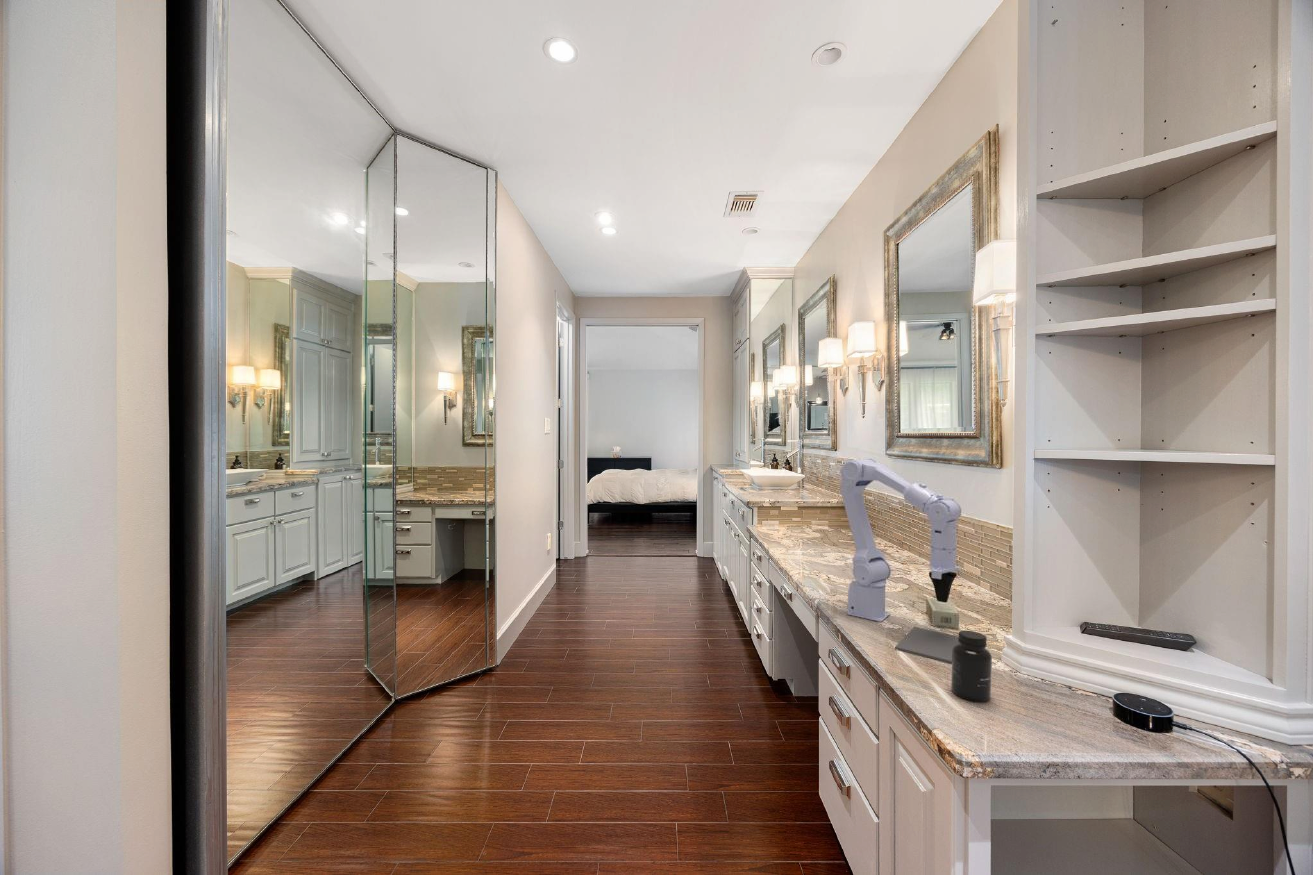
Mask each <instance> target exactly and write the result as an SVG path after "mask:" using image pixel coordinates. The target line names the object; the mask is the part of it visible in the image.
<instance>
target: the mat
mask: <svg viewBox="0 0 1313 875" xmlns="http://www.w3.org/2000/svg"><path fill="white" fill-rule="evenodd" d="M958 638H959V635H953V634H949V633H945V632H940V631H935V630H931V629H927V628H923V627H918V626H913V627H912V628H911V629H910V630H909V632H907V633H906V635H905V636H903V638H902V639H901V640H900V641H899V642H898V643H897V644H896V645H895V646H894V650H896V649H898V650H897V651H899V652H900V651H901V652H905V653H908V654H912V655H915V654H916V656H920V657H924V658H928V659H933V660H936V661H939V662H944V663H947V664H951V665H952V650H953V647H954V646H955V645H956V644H959V642H958Z"/></svg>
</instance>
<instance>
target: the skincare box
mask: <svg viewBox="0 0 1313 875" xmlns="http://www.w3.org/2000/svg"><path fill="white" fill-rule="evenodd" d="M925 611H926V613H927V616H928V618H929V619H930V621H931V624H932V626H933V627H934V628H935V627H936V628H944V629H955V630H959V629H960V613H959V612H958V610H957V609H956V607H955V605H954V604H953V603H952V601H951V600H950V599H949V598H948V601H947V602H946V603H945V602H940V601H937V598H936V597H928V596H927V597H926V599H925Z"/></svg>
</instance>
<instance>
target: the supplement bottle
mask: <svg viewBox="0 0 1313 875" xmlns="http://www.w3.org/2000/svg"><path fill="white" fill-rule="evenodd" d="M958 636H959V638H958V642H959V644H956V645H955V646H954V647H953V650H952V664H951V682H950V683H951V685H950V686H951V690H952V692H953V693H954V694H955V695H956V696H958V697H959V698H962V699H965V700H967V701H972V702H979V703H981V702H987V701H989V700H990V698H991V694H992V692H991V691H992V669H993V667H992V665H993V664H992V663H993V661H992V660H993V658H992V657H993V656H992V654H991V652H990V650H988V649H987V636H986V635H985V634H983V633H981V632H978V631H973V630H966V629H965V630H960V631H959V632H958Z"/></svg>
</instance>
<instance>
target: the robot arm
mask: <svg viewBox="0 0 1313 875" xmlns="http://www.w3.org/2000/svg"><path fill="white" fill-rule="evenodd" d="M839 474H840V476H841V484H840V494H841V498H842V502H843V506H844V509H845V512H846V516H847V520H848V524H849V528H850V532H851V535H852V536H851V537H852V540H853V543H854V546H855V550H856V551H855V553H854V556H853V557H852V564H853V568H852V575H853V577H854V579H855V580H851V581H850V583H849V586H848V591H847V592H848V593H847V594H848V595H847V596H848V597H847V600H848V601H847V612H846V614H847V615H850V616H853V617H859V618H863V619H867V620H870V621H871V620H872V621H876V622H881V623H882V622H883V621H884V620H885V619H887V618H888V617H889V616H890V614H891V613H890V612H888V611H886V584H887V580H888V579H889V578H890V577H891V574H892V569H891V566H890V564H889V562H888V561H887V559H886V558H885V555H884V552H882V551H881V550H880V549H879V548H878V547H877V545H876V542H875V540H876V539H875V537H874V533H873V529H872V527H871V523H870V519H869V516H868V515H869V514H868V512H867V508H866V504H865V501H864V496H863V493H864V491H865V489H866V488H867V487H868V486H869V485H870V484H871V483H873V482H874V481H878V482H880V483H882V484H883V485H886V486H887V487H889V488H892V489H893V490H894V491H897V492H898V493H900V494H902V496H903V499H904V501H905V502H906V503H908V504H910V505H911V506H913V507H915V509H917V510H919V511H920V512H923V513H924V514H926V517H927V518H928V520H929V522H930V549H929V550H930V551H929V553H930V556H929V564H928V567H929V569H930V571H929V572H928V577H929V579H930V581H931V583H932V586H933V588H934V592H935V598H937V601H940V602H945V603H946V602H947V601H948V599H949V598H950V593H951V589H952V585H953V582H954V580H955V579H956V578H957V574H958V573H956V572H960V571H962V566H958V565H957V564H956V563H957V530H958V528H957V525H958V523H957V522H958V520H959V519H960V517H961V515H962V508H961V506H960V504H959V502H957V501H955V499H954V498H944V497H943V496H944V495H943V494H942V493H936V492H934V491H932V490H931V489H929V488H927V484H926V483H923V482H922V483H921V482H920V483H919V482H914V483H910V482H909V481H907V480H906V479H904V478H902V477H901V476H900V475H898V474H896V473H895V472H893V471H892V470H890V469H889V468H888V467H886V466H885V465H884V464H883V463H881V462H879V461H878V462H877V461H876V460H875V459H873V458H866V459H848V460H847V461H845V462H844V464H843V465H842V467H841V468H840V470H839ZM955 571H956V572H955Z"/></svg>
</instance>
